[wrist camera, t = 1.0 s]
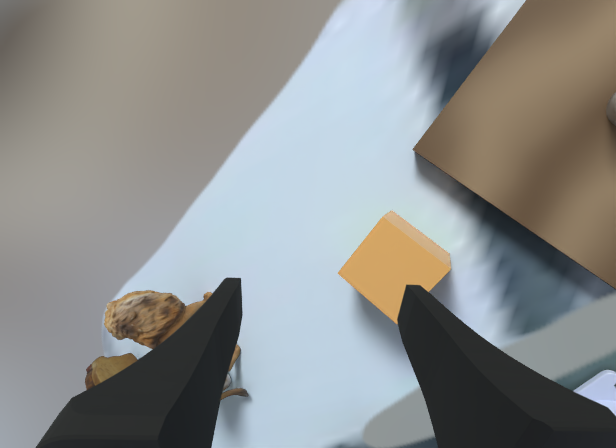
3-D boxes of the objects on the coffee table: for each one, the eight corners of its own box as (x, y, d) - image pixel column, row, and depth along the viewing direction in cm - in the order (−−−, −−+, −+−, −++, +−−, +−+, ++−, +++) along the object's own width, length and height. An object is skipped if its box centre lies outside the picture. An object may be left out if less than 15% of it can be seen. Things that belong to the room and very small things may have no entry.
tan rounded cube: (449, 253, 22) (451, 269, 19) (403, 302, 24) (396, 324, 20) (391, 210, 23) (382, 216, 20) (352, 259, 25) (337, 273, 22)
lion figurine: (168, 284, 35) (84, 318, 26) (195, 261, 32) (112, 290, 24) (236, 399, 33) (168, 473, 25) (269, 383, 31) (207, 458, 23)
